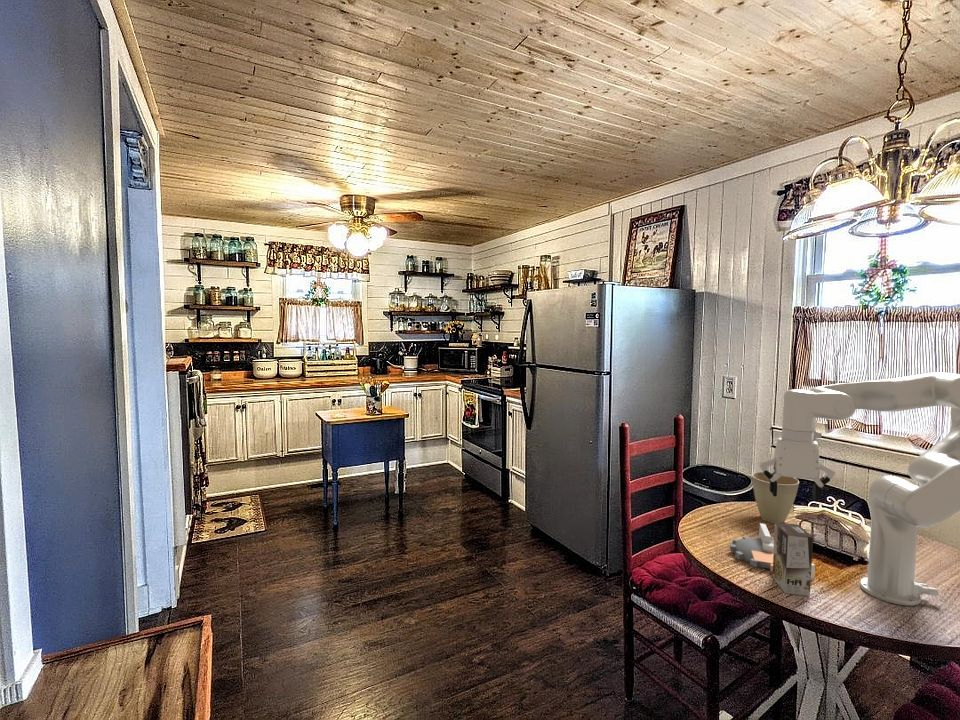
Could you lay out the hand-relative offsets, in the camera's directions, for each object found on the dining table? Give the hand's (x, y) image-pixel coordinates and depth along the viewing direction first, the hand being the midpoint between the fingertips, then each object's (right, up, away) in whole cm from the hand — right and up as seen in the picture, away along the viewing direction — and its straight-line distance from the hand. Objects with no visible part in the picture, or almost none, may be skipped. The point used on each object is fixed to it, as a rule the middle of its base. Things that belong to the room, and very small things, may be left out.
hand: (794, 497), depth 133 cm
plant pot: (+23, -22, +48) cm, 57 cm away
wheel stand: (+5, -24, +14) cm, 28 cm away
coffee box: (0, -25, +2) cm, 25 cm away
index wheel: (+4, -23, +18) cm, 30 cm away
